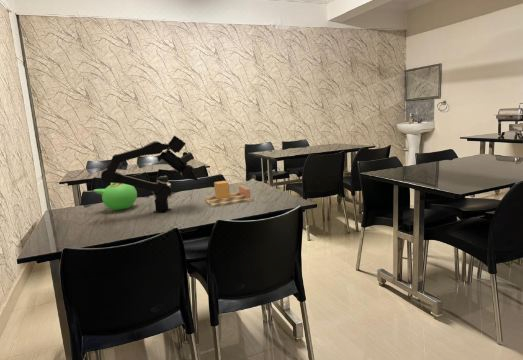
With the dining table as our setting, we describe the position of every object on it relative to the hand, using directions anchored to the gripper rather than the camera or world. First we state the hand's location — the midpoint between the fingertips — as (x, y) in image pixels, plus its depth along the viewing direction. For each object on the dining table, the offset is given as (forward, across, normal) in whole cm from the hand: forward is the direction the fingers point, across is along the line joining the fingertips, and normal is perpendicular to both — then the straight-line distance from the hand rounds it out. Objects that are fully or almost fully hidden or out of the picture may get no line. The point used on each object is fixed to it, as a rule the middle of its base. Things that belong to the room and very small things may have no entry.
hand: (196, 179), depth 185 cm
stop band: (+26, 0, -9) cm, 28 cm away
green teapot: (-16, +18, +36) cm, 44 cm away
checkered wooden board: (+21, 0, -1) cm, 21 cm away
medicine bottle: (+1, +32, +19) cm, 37 cm away
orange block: (+17, 0, 0) cm, 17 cm away
